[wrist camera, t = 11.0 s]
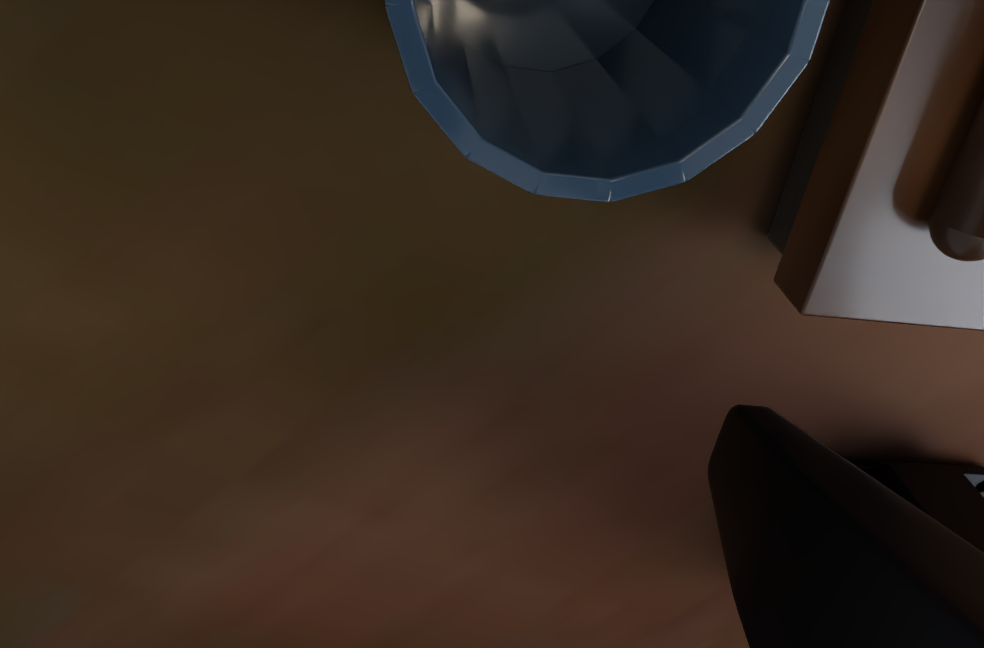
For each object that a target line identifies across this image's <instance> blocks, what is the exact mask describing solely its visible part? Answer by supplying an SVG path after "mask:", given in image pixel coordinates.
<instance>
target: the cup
mask: <svg viewBox="0 0 984 648" xmlns="http://www.w3.org/2000/svg"><path fill="white" fill-rule="evenodd" d="M384 2H385V5H386V7H385V10H386V13H387V16H388V19H389V22H390V26H391V29H392V32H393V35H394V38H395V42H396V45H397V48H398V51H399V54H400V57H401V61H402V64H403V67H404V70H405V73H406V77H407V80H408V83H409V86H410V89H411V91H412V92H413V95H414V97H415V98H416V99H417V100H418V102H419V103H420V104H421V105H422V106H423V108H424V109H425V110H426V111H427V113H428V114H429V115H430V116H431V117H432V119H433V120H434V121H435V122H436V124H437V125H438V126H439V127H440V128H441V130H442V131H443V132H444V133H445V135H446V136H447V137H448V138H449V139H450V141H451V142H452V143H453V144H454V146H455V147H456V148H457V149H458V150H459V152H460V153H461V154H462V155H463V156H466V158H467V159H468V160H470V161H472V162H474V163H475V164H477V165H479V166H481V167H483V168H485V169H487V170H488V171H490V172H492V173H494V174H496V175H498V176H500V177H502V178H503V179H505V180H507V181H509V182H511V183H513V184H515V185H516V186H518V187H520V188H522V189H524V190H526V191H528V192H530V193H534V194H536V195H542V196H552V197H562V198H571V199H581V200H591V201H600V202H609V201H611V202H614V201H617V200H621V199H625V198H629V197H632V196H636V195H640V194H643V193H647V192H651V191H654V190H658V189H662V188H666V187H669V186H673V185H677V184H680V183H684V182H685V181H688V180H690V179H691V178H693V177H694V176H696V175H697V174H699V173H700V172H702V171H703V170H705V169H706V168H707V167H709V166H710V165H712V164H713V163H715V162H716V161H718V160H719V159H720V158H722V157H723V156H725V155H726V154H728V153H729V152H731V151H732V150H733V149H735V148H736V147H738V146H739V145H741V144H742V143H744V142H745V141H746V140H748V139H749V138H751V137H752V136H753V135H754V133H756V132H758V130H759V129H760V128H761V126H762V125H763V124H764V122H765V121H766V120H767V118H768V117H769V116H770V114H771V113H772V112H773V110H774V109H775V108H776V106H777V105H778V104H779V102H780V101H781V100H782V98H783V97H784V96H785V94H786V93H787V92H788V90H789V89H790V88H791V86H792V85H793V84H794V82H795V81H796V80H797V78H798V77H799V76H800V74H801V73H802V72H803V70H804V69H805V68H806V66H807V65H808V61H810V59H811V57H812V54H813V51H814V48H815V45H816V42H817V39H818V36H819V33H820V30H821V27H822V23H823V20H824V17H825V14H826V11H827V8H828V5H829V2H830V0H384Z"/></svg>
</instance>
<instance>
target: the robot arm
mask: <svg viewBox="0 0 984 648" xmlns="http://www.w3.org/2000/svg"><path fill="white" fill-rule="evenodd" d="M708 479H709V485H710V490H711V494H712V499H713V504H714V509H715V514H716V518H717V523H718V528H719V533H720V537H721V542H722V547H723V552H724V557H725V561H726V566H727V571H728V576H729V580H730V584H731V588H732V592H733V596H734V600H735V603H736V606H737V610H738V613H739V616H740V619H741V622H742V625H743V629H744V632H745V635H746V638H747V641H748V644H749V647H750V648H984V467H975V466H959V465H943V464H927V463H911V462H895V461H878V460H862V459H846V458H843V457H842V456H840V455H839V454H837V453H836V452H834V451H833V450H831V449H830V448H828V447H827V446H825V445H824V444H822V443H821V442H820V441H818V440H817V439H815V438H814V437H812V436H811V435H809V434H808V433H806V432H805V431H803V430H802V429H800V428H799V427H797V426H796V425H794V424H793V423H791V422H790V421H789V420H787V419H786V418H784V417H783V416H781V415H780V414H778V413H777V412H775V411H774V410H772V409H770V408H768V407H763V406H751V405H736V406H734V407H732V408H731V409H730V410H729V411H728V413H727V415H726V417H725V420H724V423H723V425H722V428H721V430H720V433H719V436H718V438H717V441H716V443H715V446H714V449H713V451H712V454H711V456H710V460H709V465H708Z"/></svg>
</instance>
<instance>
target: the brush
mask: <svg viewBox="0 0 984 648" xmlns="http://www.w3.org/2000/svg"><path fill="white" fill-rule="evenodd" d="M768 239H769V240H770V241H771V242H772V244H773V245H774V246H775V247H776V248H777V249H778V250H779V251H780V253H781V254H782V257H781V260H780V263H779V266H778V269H777V271H776V274H775V277H774V282H775V283H776V285H777V286H778V287H779V288H780V289H781V291H782V292H783V293H784V294H785V296H786V297H787V298H788V299H789V301H790V302H791V303H792V304H793V306H794V307H795V308H796V309H797V311H798V312H799V313H800V314H802V315H808V316H819V317H831V318H842V319H854V320H865V321H877V322H888V323H900V324H911V325H923V326H934V327H946V328H957V329H969V330H980V331H984V0H849V1H848V4H847V7H846V9H845V12H844V15H843V18H842V21H841V24H840V27H839V30H838V33H837V36H836V39H835V42H834V44H833V47H832V50H831V53H830V56H829V59H828V62H827V65H826V68H825V71H824V74H823V77H822V79H821V82H820V85H819V88H818V91H817V94H816V97H815V100H814V103H813V106H812V109H811V112H810V114H809V117H808V120H807V123H806V126H805V129H804V132H803V135H802V138H801V141H800V144H799V147H798V149H797V152H796V155H795V158H794V161H793V164H792V167H791V170H790V173H789V176H788V179H787V182H786V184H785V187H784V190H783V193H782V196H781V199H780V202H779V205H778V208H777V211H776V214H775V217H774V219H773V222H772V225H771V228H770V231H769V234H768Z"/></svg>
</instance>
